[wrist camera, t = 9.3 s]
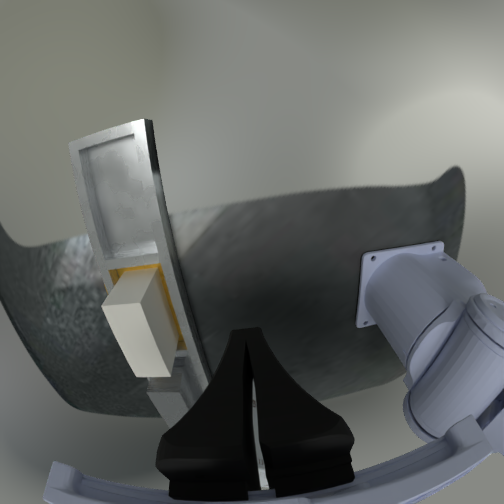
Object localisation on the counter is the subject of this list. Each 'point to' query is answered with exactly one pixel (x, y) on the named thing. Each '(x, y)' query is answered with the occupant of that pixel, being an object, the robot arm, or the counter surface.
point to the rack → (139, 243)
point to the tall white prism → (143, 322)
